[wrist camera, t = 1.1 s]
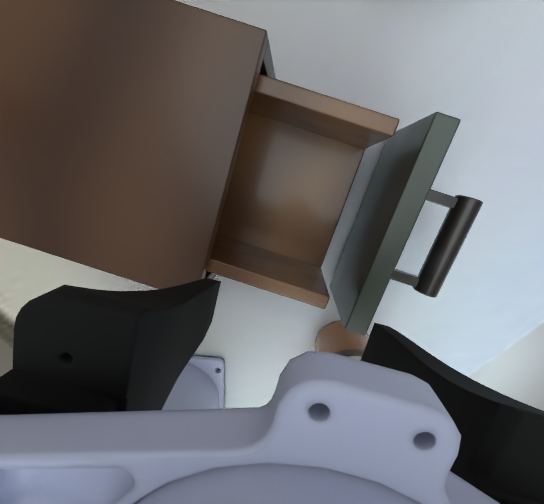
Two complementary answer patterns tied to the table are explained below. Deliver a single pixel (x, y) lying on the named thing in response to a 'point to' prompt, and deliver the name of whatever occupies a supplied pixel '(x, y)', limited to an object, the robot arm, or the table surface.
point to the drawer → (333, 201)
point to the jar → (341, 341)
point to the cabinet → (122, 130)
